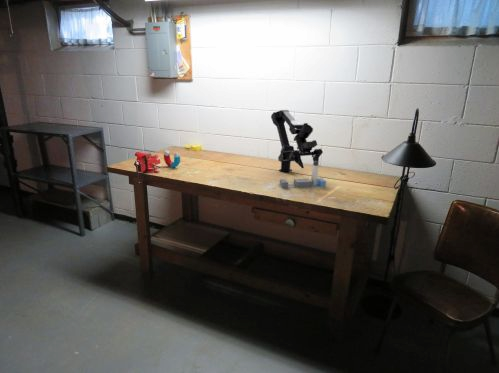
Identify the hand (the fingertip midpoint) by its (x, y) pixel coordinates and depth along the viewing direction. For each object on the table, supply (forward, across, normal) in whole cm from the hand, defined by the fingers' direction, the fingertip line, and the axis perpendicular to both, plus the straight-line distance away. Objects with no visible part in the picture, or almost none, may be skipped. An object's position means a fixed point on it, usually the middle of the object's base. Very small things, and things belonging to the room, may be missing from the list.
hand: (310, 167), depth 194 cm
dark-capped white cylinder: (+10, 0, +2) cm, 10 cm away
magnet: (-32, -66, +47) cm, 87 cm away
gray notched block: (+10, -6, +4) cm, 12 cm away
